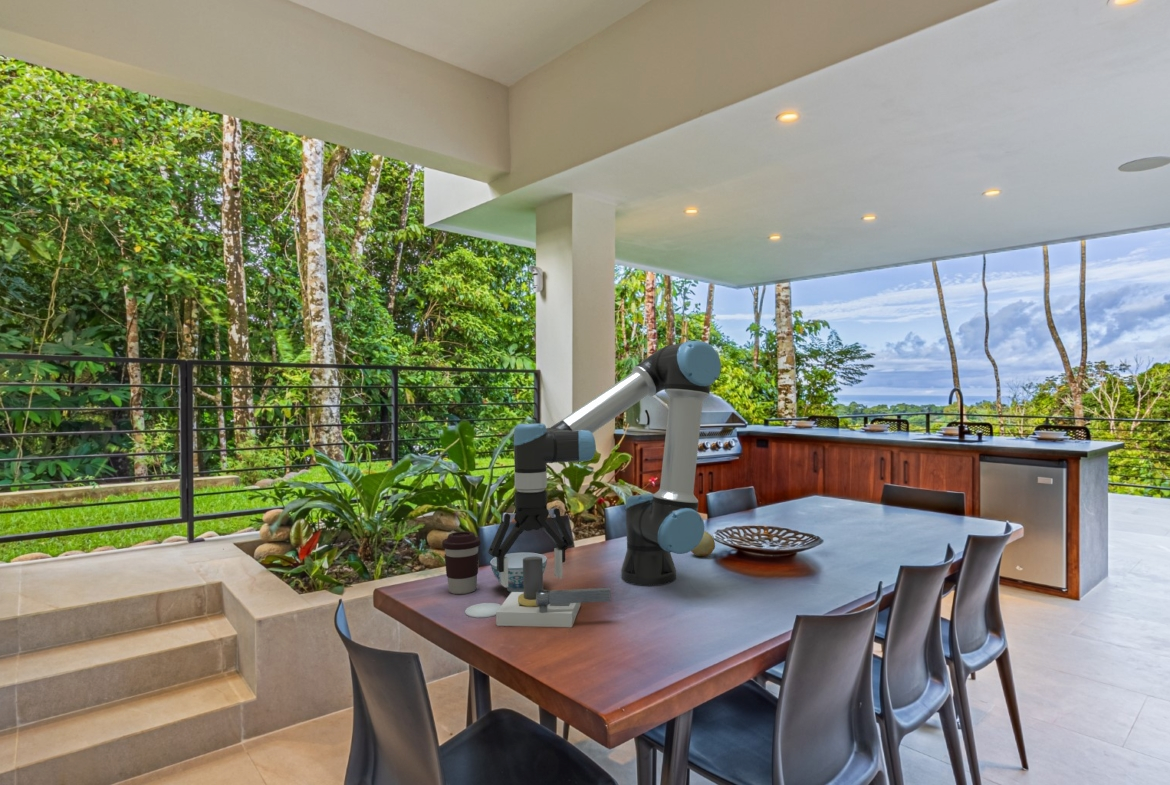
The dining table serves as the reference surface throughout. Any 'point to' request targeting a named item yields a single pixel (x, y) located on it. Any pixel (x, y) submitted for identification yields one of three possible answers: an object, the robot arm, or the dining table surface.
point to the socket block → (535, 614)
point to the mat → (482, 610)
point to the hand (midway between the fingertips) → (532, 581)
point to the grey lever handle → (572, 596)
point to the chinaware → (515, 569)
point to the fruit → (705, 545)
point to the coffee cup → (461, 561)
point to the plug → (531, 580)
